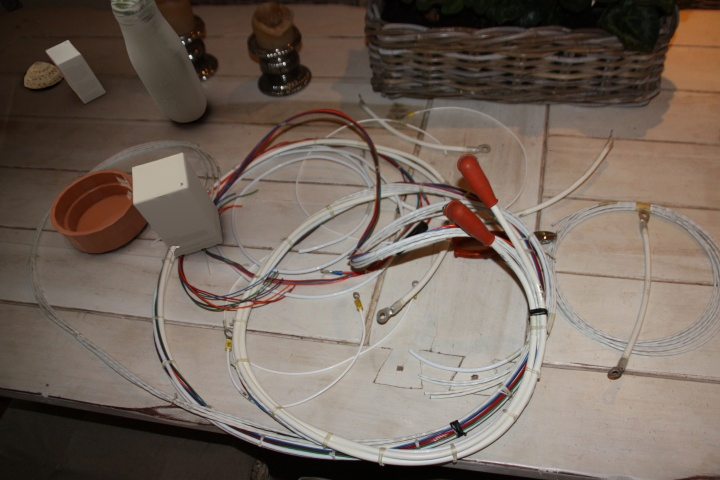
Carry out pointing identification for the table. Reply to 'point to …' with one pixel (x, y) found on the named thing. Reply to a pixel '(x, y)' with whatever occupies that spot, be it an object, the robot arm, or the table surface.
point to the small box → (76, 71)
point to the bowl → (98, 212)
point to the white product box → (176, 204)
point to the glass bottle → (160, 60)
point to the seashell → (42, 75)
